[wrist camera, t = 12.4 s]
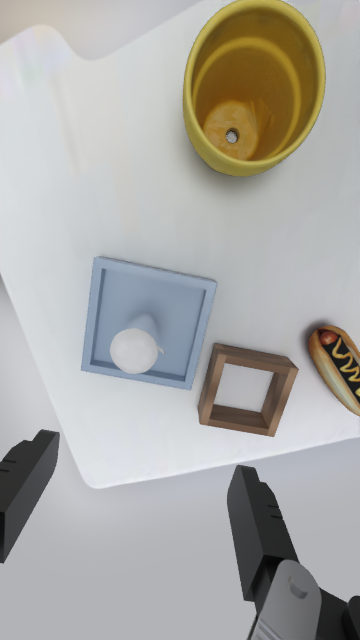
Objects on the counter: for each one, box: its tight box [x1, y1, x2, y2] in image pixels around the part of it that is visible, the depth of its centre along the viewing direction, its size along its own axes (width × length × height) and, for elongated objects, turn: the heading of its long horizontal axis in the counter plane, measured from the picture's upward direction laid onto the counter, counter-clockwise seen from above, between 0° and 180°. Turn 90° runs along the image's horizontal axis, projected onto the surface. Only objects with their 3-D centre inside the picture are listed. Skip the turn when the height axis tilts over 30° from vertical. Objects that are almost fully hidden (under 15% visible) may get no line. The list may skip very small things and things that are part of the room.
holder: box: [198, 343, 299, 437], centre depth 35 cm, size 10×10×4 cm
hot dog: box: [309, 325, 360, 416], centre depth 33 cm, size 5×13×5 cm, turn 37°
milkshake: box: [110, 314, 165, 374], centre depth 28 cm, size 4×5×10 cm
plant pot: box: [183, 0, 326, 177], centre depth 24 cm, size 10×10×10 cm
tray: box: [81, 256, 217, 390], centre depth 33 cm, size 14×14×2 cm
